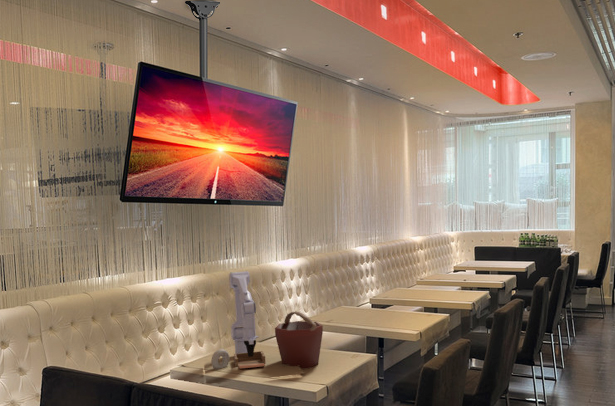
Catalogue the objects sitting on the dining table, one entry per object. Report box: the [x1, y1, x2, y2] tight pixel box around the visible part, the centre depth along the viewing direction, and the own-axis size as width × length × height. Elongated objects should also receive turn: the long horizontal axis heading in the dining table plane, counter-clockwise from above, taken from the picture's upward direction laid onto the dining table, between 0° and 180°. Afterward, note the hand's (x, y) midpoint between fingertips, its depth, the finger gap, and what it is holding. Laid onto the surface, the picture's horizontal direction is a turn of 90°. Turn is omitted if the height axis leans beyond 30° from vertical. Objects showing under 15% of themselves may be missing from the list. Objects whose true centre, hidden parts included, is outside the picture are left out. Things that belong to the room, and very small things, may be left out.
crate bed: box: [233, 350, 266, 368], centre depth 283 cm, size 11×14×5 cm
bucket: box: [274, 311, 324, 370], centre depth 280 cm, size 24×22×25 cm
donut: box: [210, 348, 230, 370], centre depth 277 cm, size 10×3×10 cm, turn 137°
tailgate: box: [237, 363, 266, 369], centre depth 274 cm, size 1×12×7 cm
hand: (250, 356), depth 276 cm, fingers closed
